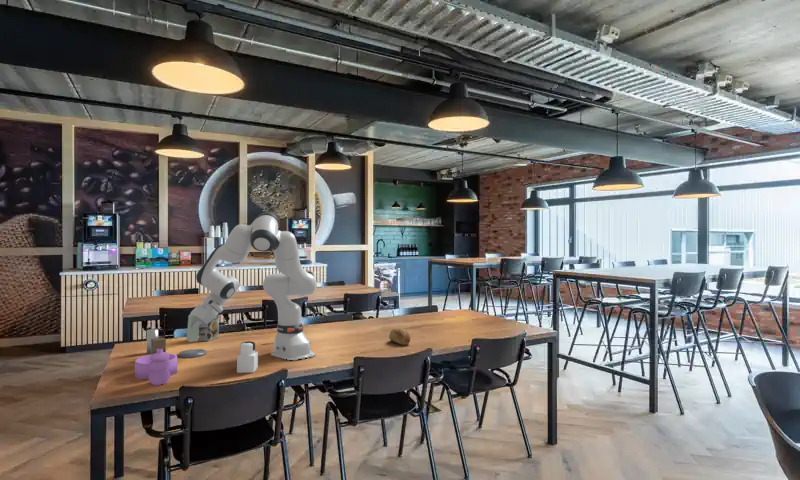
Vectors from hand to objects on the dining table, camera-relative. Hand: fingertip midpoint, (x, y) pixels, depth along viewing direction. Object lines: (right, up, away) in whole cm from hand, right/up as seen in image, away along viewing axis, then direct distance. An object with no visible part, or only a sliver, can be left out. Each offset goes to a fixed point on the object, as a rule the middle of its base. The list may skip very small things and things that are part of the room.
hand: (190, 326), depth 209 cm
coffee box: (-5, -13, +32) cm, 35 cm away
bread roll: (+99, -15, +29) cm, 105 cm away
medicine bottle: (+35, -15, -22) cm, 44 cm away
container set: (+2, -14, -32) cm, 35 cm away
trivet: (0, -14, +1) cm, 14 cm away
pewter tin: (-20, -13, +3) cm, 24 cm away
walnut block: (-12, -14, -6) cm, 19 cm away
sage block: (0, -7, +1) cm, 7 cm away
